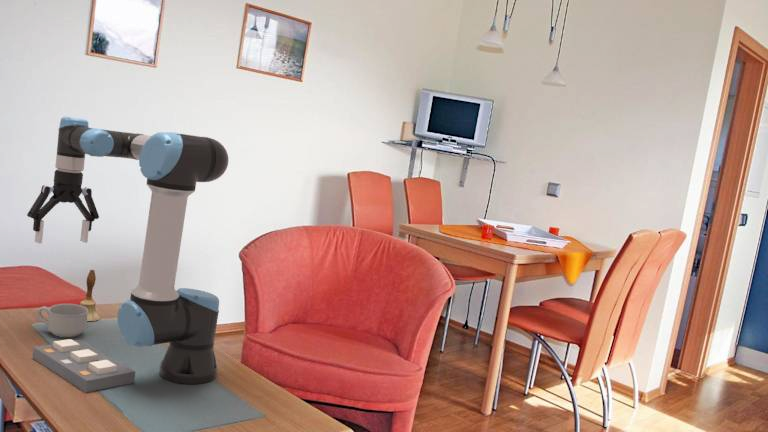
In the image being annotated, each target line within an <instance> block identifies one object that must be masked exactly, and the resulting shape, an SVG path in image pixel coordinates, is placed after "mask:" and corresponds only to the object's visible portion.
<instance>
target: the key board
mask: <svg viewBox="0 0 768 432" xmlns="http://www.w3.org/2000/svg"><path fill="white" fill-rule="evenodd" d="M74 341H75V342H77V343H79V344H80V349H79V350H85V349H89V350H91V351H93V352H94V353H96V354H98V358H97V361H101V360H108V361H110V362H112V363H113V364H115V365H117V369H116V372H114V373H109V374H103V375H96V374H95V373H93V372H91V371H90V370H88V366H89V363H90V362H88V363H82V364H78V363H77V362H75V361H73V360H72V359H70V353H71V352H66V353H60V352H59V351H57V350H55V349H54V348H53V343H52V344H47V345H38V346H33V348H32V359H33V360H35V361H37V362H38V363H39V364H40V365H42V366H44V367H46V368H47V369H48V370H50V371H51V372H54V373H55V374H56V375H58V376H60V377H61V378H63V379H64V380H65V381H67V382H69V383H70V384H71V385H73V386H75V387H76V388H77V389H79V390H81V391H82V392H84V393H85V394H87V393H90V392H95V391H100V390H105V389H110V388H115V387H120V386H125V385H130V384H134V383H135V378H136V377H135V376H136V371H135V370H133V369H132V368H131V367H128V366H126V365H124V364H123V363H121V362H120V361H118V360H116V359H114V358H112V357H111V356H109V355H107V354H106V353H103V352H102V351H100V350H98V349H96V348H95V347H93V346H91V345H89V344H88V343H86V342H84V341H83V340H80V339H79V340H74ZM94 362H95V361H94Z"/></svg>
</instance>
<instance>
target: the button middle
mask: <svg viewBox="0 0 768 432" xmlns="http://www.w3.org/2000/svg"><path fill="white" fill-rule="evenodd" d="M97 358H98V354H96V353H94V352H93V351H91V350H89V349H85V350H78V351H72V352H71V353H70V359H72V360H73V361H75V362H77V363H78V364H82V363H88V362H94V361H97Z"/></svg>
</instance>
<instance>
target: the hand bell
mask: <svg viewBox="0 0 768 432" xmlns="http://www.w3.org/2000/svg"><path fill="white" fill-rule="evenodd" d="M95 271H96V270H94V269H90V270H89V272H88V274H87V277H86V288H87V290H86V295H85V299H84V300H82V301H80V303H79V305H81V306H84V307H86V308H87V309H88V313H87V321H94V322H97V321H96V320H98V321H100V320H101V317H100V316H99V314H98V313H97V312H98V311H97V310H96V309H97V308H96V307H97V306H96V302H95V301H93V300H92V298H93V289H94V287H95V285H96V284H95V283H96V273H95ZM99 319H100V320H99Z"/></svg>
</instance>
